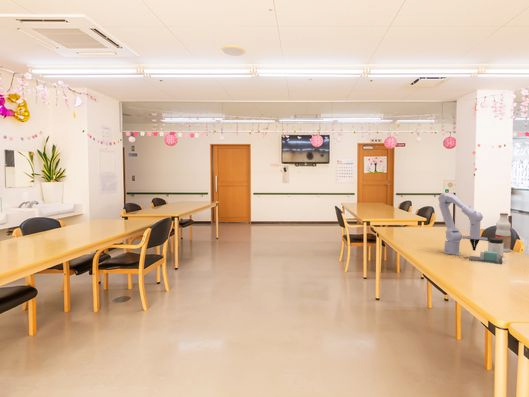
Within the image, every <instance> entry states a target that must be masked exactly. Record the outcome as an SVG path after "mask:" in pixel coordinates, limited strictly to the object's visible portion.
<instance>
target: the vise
mask: <svg viewBox="0 0 529 397" xmlns="http://www.w3.org/2000/svg"><path fill="white" fill-rule="evenodd" d="M470 260H471V261H472V262H473V261H474V262H478V263H479V262H481V263H487V264H488V263H489V264H496V265H503V257H502V256H501V254H497V261H491V260H481V259H480V256H477V255H476V256H474V255H470V256H469V261H470Z"/></svg>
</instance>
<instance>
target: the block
mask: <svg viewBox="0 0 529 397" xmlns="http://www.w3.org/2000/svg"><path fill="white" fill-rule="evenodd" d="M483 252H484V260H491V261H497V252H490V251H488V250H484V251H483Z"/></svg>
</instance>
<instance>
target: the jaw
mask: <svg viewBox="0 0 529 397" xmlns="http://www.w3.org/2000/svg"><path fill="white" fill-rule="evenodd" d="M479 257H480V259H481V260H484V251H480V254H479Z"/></svg>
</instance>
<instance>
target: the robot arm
mask: <svg viewBox="0 0 529 397" xmlns="http://www.w3.org/2000/svg"><path fill="white" fill-rule="evenodd" d="M437 199H438V201H439V209H440V212H441V215H442V217H443V218H442V219H443V220H444V224H445V227H446V231H445V238H446V240H444V254H445V255H453V256H454V255H456V256H460V254H461V252H460V244H461V240H469V242H470V245H471V248H472V251H474V252H475V251H476V248H477V246H478V244H479V242H480V241H483V242H488V240H489V239H488V237H484V236H483V237H482V236H481V221H482V220H483V218H484V216H483V214H482V213H481V212H477V211H476V210H474V209H473V208H472V206H471V205H465V204H464V202H462V201H461V200H460V199H459V198H458V197H457V195H455V194H454V193H452V192H449V193H440V195H439V196H438V198H437ZM451 204H455V206H457V207H458V208H460V209H461V212H462V213H463V214H464V215H465V216H466V217H468V220H469V225H470V226H469V227H470V228H469V231H470V232H469V235H463V234H462V232H461V231H460V229H458V228H457V227H456V225H455V222H454V219H453V216H452V214H451V210H450V208H449V206H450V205H451Z"/></svg>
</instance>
